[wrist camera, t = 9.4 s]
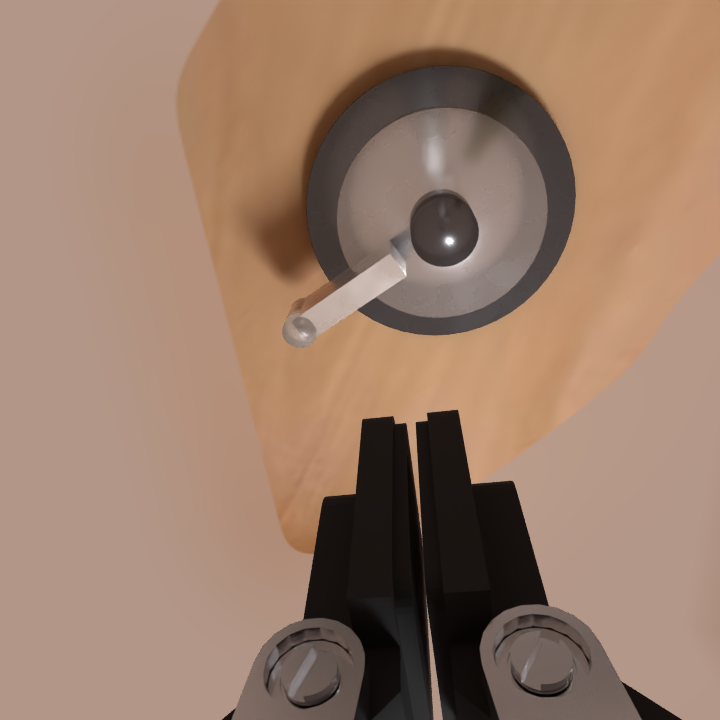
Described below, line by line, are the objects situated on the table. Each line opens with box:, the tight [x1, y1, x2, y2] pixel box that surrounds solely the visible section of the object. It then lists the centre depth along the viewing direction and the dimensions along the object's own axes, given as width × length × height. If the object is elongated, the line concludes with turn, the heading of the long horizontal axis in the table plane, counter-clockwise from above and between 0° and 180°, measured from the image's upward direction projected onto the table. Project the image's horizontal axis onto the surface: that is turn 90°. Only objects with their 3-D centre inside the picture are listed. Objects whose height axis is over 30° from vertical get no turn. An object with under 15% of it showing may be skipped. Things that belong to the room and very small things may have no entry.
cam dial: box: [282, 106, 548, 348], centre depth 35 cm, size 17×12×4 cm
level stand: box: [307, 66, 576, 335], centre depth 37 cm, size 16×16×1 cm
